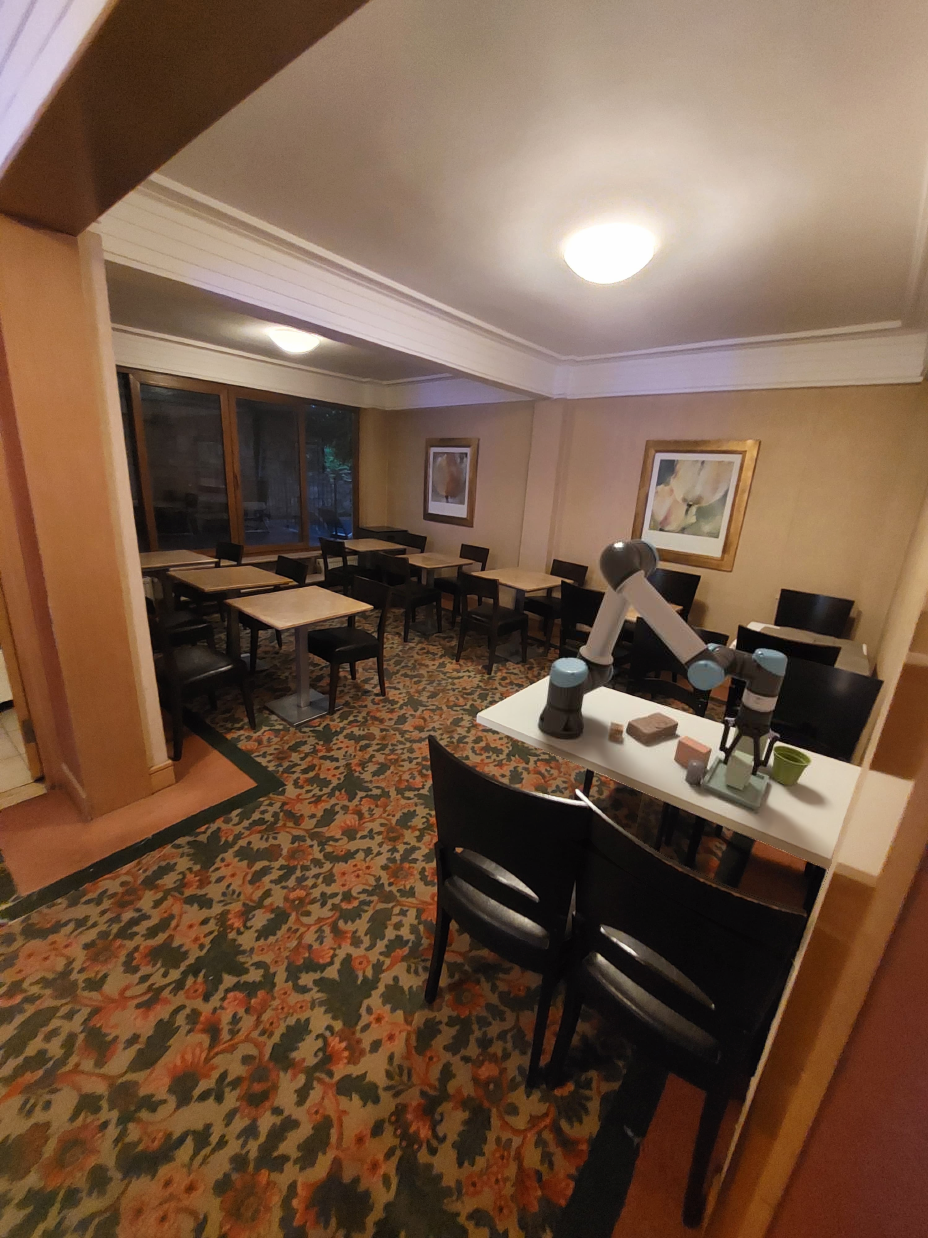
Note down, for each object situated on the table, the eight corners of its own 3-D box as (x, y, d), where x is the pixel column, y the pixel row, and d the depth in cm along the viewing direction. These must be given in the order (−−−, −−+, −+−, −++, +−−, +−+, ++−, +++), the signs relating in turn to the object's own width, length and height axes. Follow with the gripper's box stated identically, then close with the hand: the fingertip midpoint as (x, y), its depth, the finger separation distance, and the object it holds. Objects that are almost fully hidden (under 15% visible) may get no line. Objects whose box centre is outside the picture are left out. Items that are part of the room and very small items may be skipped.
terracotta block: (698, 773, 137) (704, 753, 135) (673, 759, 143) (678, 739, 141) (706, 768, 140) (712, 748, 138) (681, 755, 146) (686, 735, 144)
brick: (643, 745, 151) (646, 732, 149) (624, 732, 157) (626, 719, 156) (677, 734, 158) (679, 722, 157) (656, 722, 165) (659, 711, 164)
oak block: (608, 738, 152) (610, 727, 151) (609, 732, 156) (611, 722, 155) (621, 741, 151) (623, 730, 150) (621, 735, 155) (623, 725, 154)
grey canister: (683, 781, 133) (687, 763, 131) (687, 775, 136) (691, 758, 134) (698, 788, 130) (702, 770, 128) (701, 781, 133) (706, 763, 131)
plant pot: (788, 770, 141) (796, 746, 139) (810, 791, 132) (819, 765, 130) (758, 769, 141) (765, 744, 138) (778, 789, 132) (787, 763, 129)
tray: (700, 788, 130) (701, 782, 129) (715, 761, 143) (716, 756, 143) (757, 813, 122) (759, 807, 121) (767, 782, 135) (769, 776, 134)
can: (731, 761, 144) (740, 727, 141) (726, 746, 153) (735, 713, 149) (764, 769, 141) (775, 734, 138) (757, 753, 150) (767, 720, 146)
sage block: (724, 783, 130) (730, 761, 128) (730, 770, 136) (736, 750, 134) (742, 790, 127) (748, 768, 125) (747, 777, 133) (753, 756, 131)
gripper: (718, 699, 127) (700, 771, 134) (794, 723, 117) (770, 800, 124) (724, 690, 133) (706, 760, 140) (797, 712, 122) (774, 787, 129)
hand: (736, 779), depth 132 cm, fingers closed on sage block, 4 cm apart
